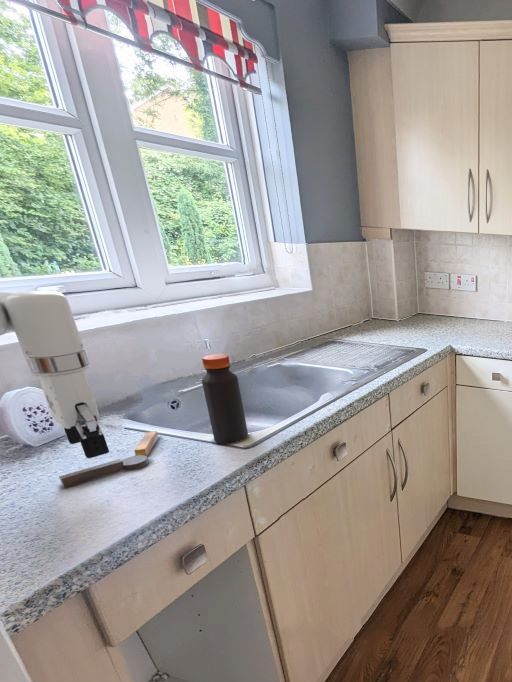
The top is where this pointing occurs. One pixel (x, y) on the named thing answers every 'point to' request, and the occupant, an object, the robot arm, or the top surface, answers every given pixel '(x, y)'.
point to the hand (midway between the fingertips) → (89, 448)
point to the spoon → (103, 470)
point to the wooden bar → (146, 443)
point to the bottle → (223, 400)
